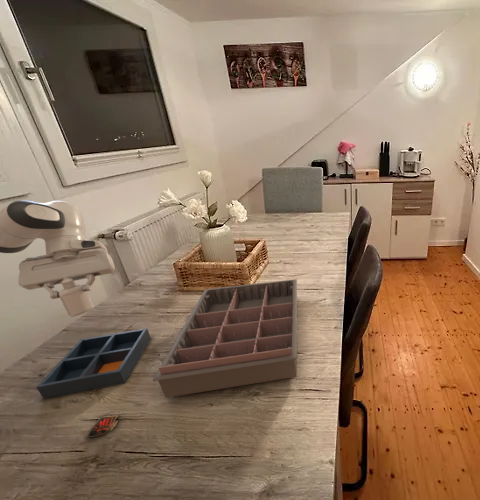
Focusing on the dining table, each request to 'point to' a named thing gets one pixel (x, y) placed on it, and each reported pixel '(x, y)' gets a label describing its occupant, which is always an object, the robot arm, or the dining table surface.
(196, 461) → the dining table surface
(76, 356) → the grid
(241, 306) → the organizer tray
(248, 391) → the dining table surface
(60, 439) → the dining table surface
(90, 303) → the eye dropper bottle
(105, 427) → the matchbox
